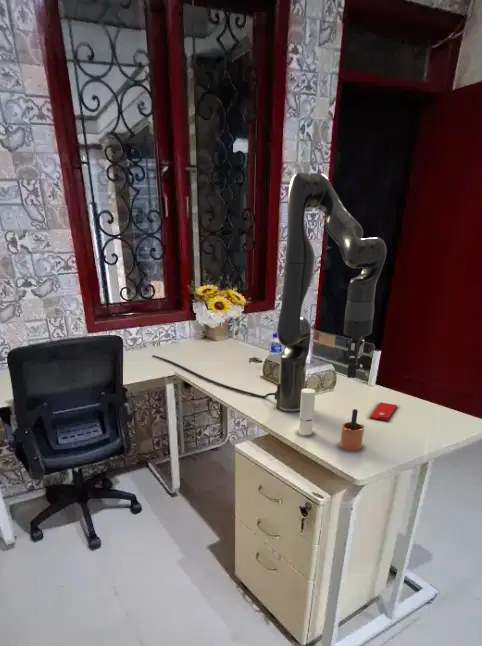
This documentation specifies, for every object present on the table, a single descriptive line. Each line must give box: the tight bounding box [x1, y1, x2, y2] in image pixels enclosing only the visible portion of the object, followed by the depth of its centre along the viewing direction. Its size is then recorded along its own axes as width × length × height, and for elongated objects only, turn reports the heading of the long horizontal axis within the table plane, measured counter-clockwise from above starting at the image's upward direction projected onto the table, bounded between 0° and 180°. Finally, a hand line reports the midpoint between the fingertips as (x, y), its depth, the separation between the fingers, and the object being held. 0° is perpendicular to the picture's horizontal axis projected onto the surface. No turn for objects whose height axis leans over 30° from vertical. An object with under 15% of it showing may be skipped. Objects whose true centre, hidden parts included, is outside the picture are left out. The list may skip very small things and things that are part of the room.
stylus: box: [350, 408, 358, 430], centre depth 124 cm, size 1×1×12 cm
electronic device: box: [369, 402, 398, 422], centre depth 148 cm, size 6×1×15 cm
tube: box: [298, 387, 316, 436], centre depth 133 cm, size 4×4×15 cm
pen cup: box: [339, 421, 365, 451], centre depth 125 cm, size 6×6×7 cm
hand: (353, 373), depth 122 cm, fingers open, 8 cm apart
